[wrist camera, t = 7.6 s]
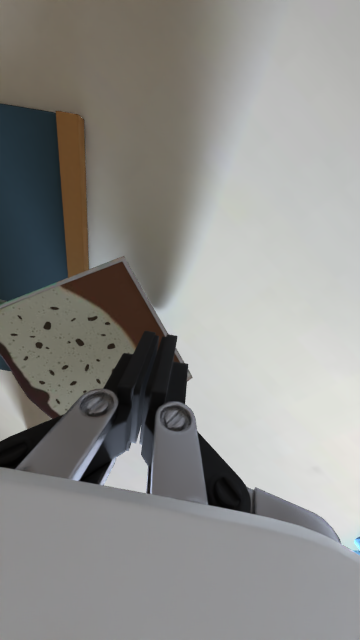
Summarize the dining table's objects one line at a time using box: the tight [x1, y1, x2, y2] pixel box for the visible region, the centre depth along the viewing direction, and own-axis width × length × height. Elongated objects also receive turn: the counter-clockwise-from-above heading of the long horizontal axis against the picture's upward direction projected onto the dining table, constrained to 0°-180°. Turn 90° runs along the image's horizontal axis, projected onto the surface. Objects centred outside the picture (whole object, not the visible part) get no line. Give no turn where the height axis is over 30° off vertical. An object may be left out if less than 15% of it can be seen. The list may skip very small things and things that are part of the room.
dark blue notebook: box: [0, 104, 89, 371], centre depth 18 cm, size 22×14×1 cm, turn 171°
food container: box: [0, 256, 193, 419], centre depth 17 cm, size 12×6×10 cm
